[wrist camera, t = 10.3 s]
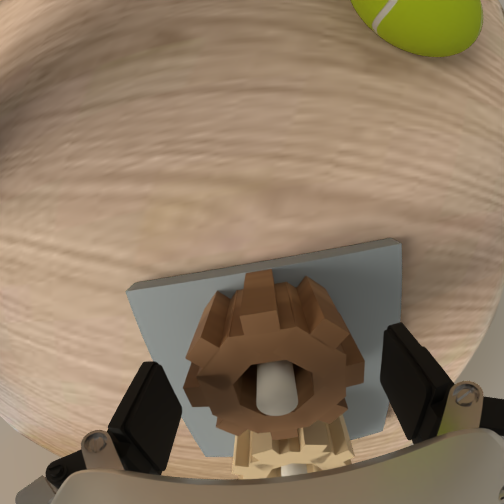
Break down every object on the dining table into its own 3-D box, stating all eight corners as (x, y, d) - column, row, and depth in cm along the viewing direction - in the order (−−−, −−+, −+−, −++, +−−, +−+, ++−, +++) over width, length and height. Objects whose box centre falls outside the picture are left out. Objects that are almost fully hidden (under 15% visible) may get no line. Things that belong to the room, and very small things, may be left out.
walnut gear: (184, 283, 13) (156, 326, 9) (335, 257, 12) (365, 292, 8) (220, 391, 15) (211, 443, 11) (341, 373, 14) (359, 423, 10)
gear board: (134, 282, 14) (76, 340, 8) (391, 237, 13) (460, 277, 7) (207, 445, 18) (197, 504, 12) (378, 420, 17) (400, 476, 11)
